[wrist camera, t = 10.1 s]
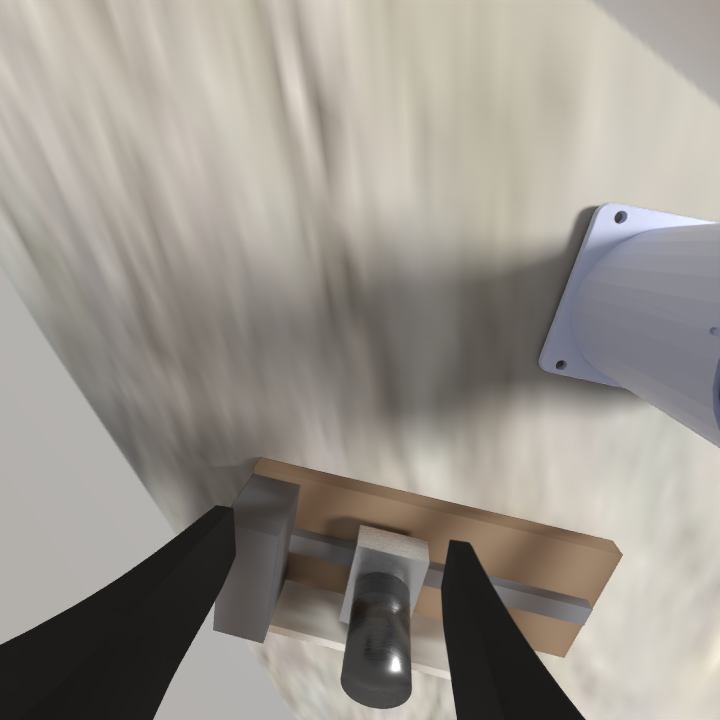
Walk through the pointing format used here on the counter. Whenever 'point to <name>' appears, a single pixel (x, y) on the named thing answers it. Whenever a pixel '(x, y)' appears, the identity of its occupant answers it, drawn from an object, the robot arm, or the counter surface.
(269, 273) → the counter surface
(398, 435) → the counter surface
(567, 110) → the counter surface
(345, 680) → the gauge slider
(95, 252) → the counter surface
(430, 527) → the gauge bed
